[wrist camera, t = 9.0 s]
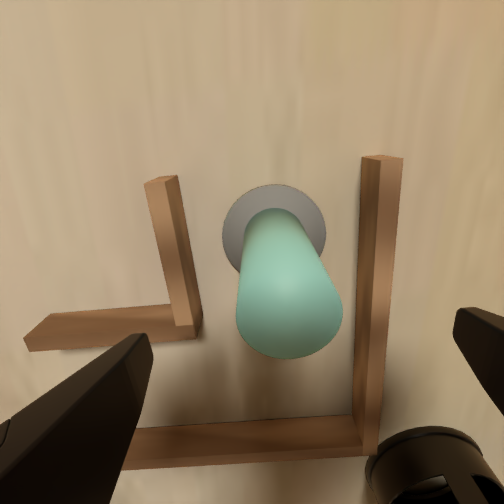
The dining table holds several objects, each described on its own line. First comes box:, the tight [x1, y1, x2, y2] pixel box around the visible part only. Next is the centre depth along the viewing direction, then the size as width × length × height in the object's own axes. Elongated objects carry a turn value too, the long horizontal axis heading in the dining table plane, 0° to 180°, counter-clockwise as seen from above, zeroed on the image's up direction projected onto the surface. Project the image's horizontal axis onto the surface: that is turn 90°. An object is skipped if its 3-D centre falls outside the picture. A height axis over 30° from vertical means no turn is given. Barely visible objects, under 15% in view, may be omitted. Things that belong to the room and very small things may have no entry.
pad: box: [222, 185, 326, 272], centre depth 17 cm, size 6×6×1 cm
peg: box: [236, 208, 343, 359], centre depth 13 cm, size 4×4×8 cm
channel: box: [23, 155, 403, 471], centre depth 19 cm, size 20×21×2 cm
